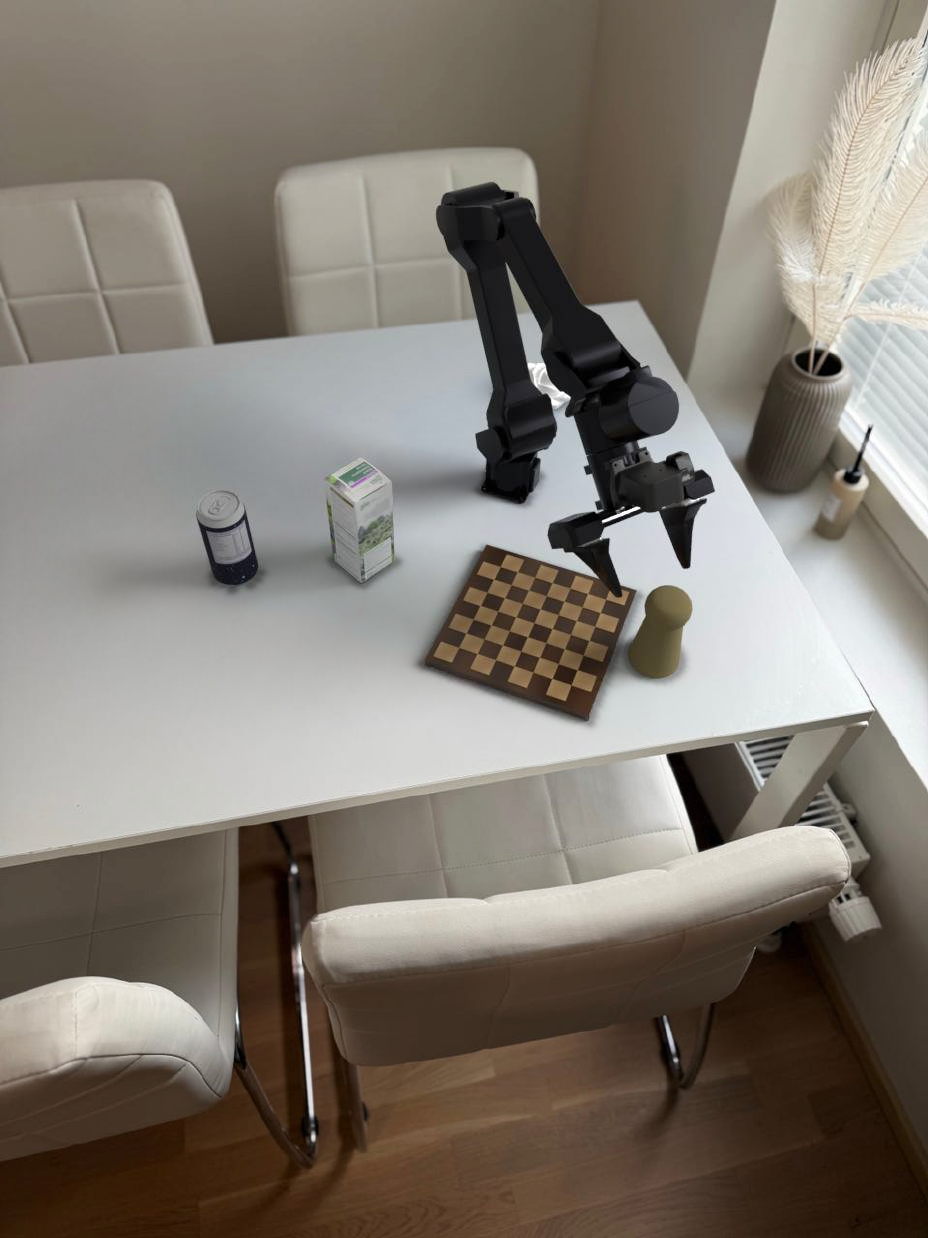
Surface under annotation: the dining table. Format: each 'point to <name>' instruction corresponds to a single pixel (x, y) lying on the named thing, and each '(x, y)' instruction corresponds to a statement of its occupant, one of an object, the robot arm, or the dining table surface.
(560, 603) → the chessboard
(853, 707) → the dining table surface
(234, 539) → the beverage can
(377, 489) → the syrup box
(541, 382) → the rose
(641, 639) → the chess pawn
